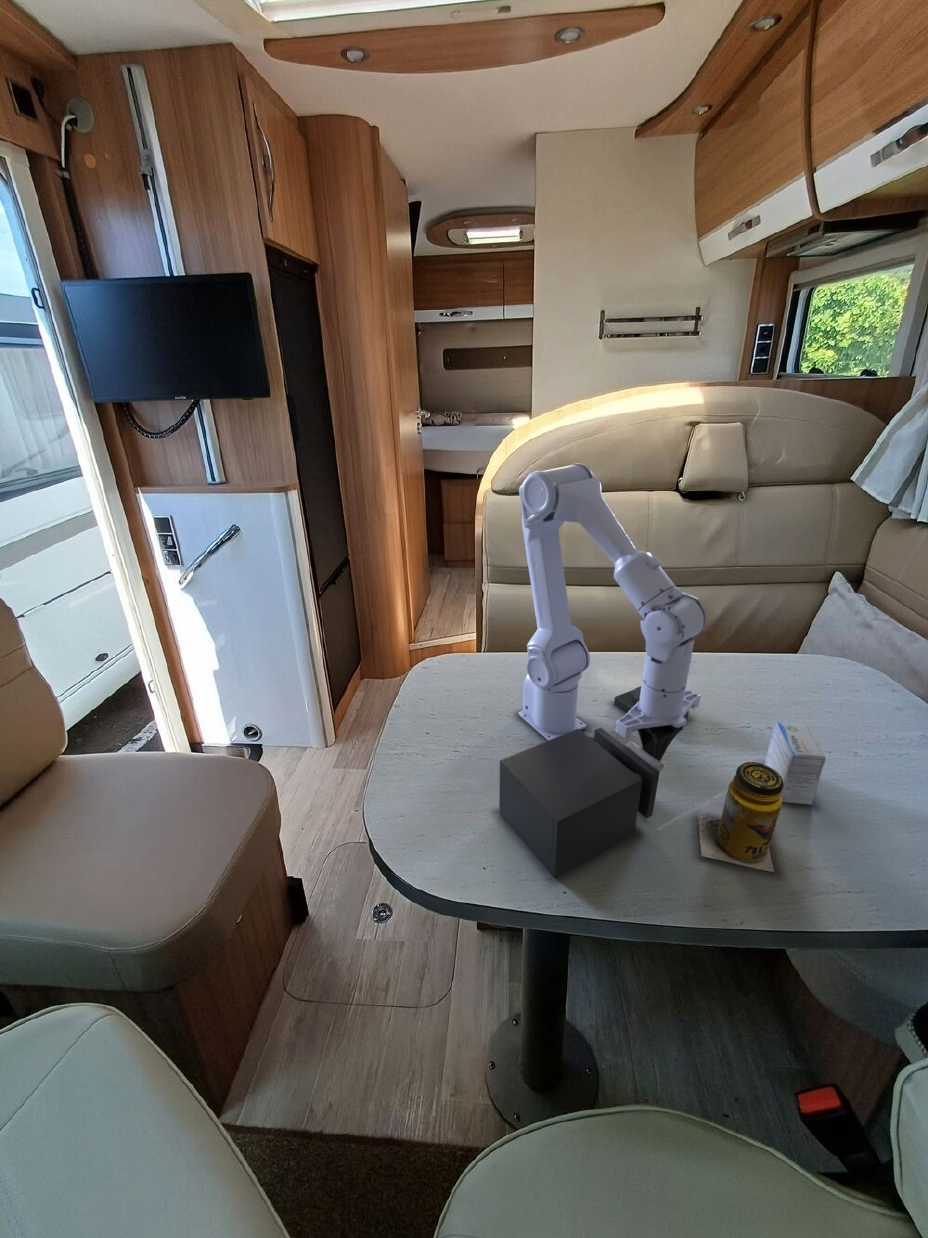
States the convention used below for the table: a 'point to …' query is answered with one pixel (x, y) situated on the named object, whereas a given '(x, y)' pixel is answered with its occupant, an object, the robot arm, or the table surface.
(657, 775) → the drawer
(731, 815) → the condiment
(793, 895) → the table surface
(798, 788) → the medicine box
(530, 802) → the grey cube with drawer
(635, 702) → the control block
